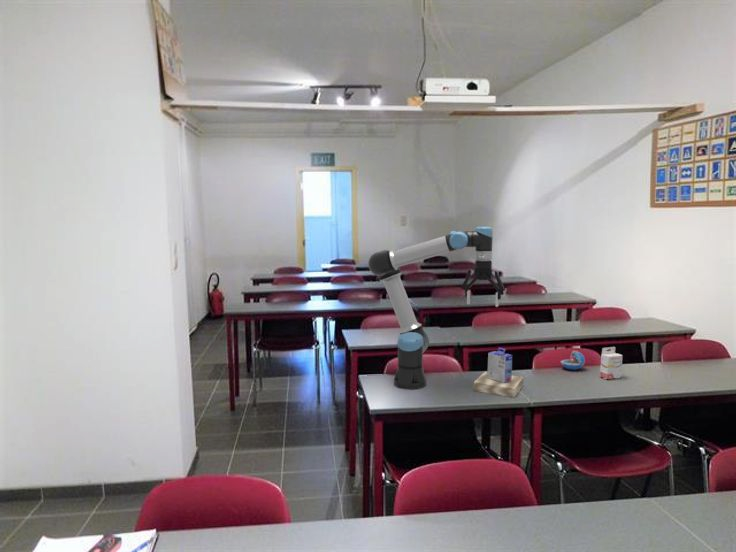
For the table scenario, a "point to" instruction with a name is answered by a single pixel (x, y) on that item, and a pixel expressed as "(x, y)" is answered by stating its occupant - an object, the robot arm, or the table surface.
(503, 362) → the ink cartridge box
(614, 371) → the ink cartridge box
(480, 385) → the birch base
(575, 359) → the cell model
